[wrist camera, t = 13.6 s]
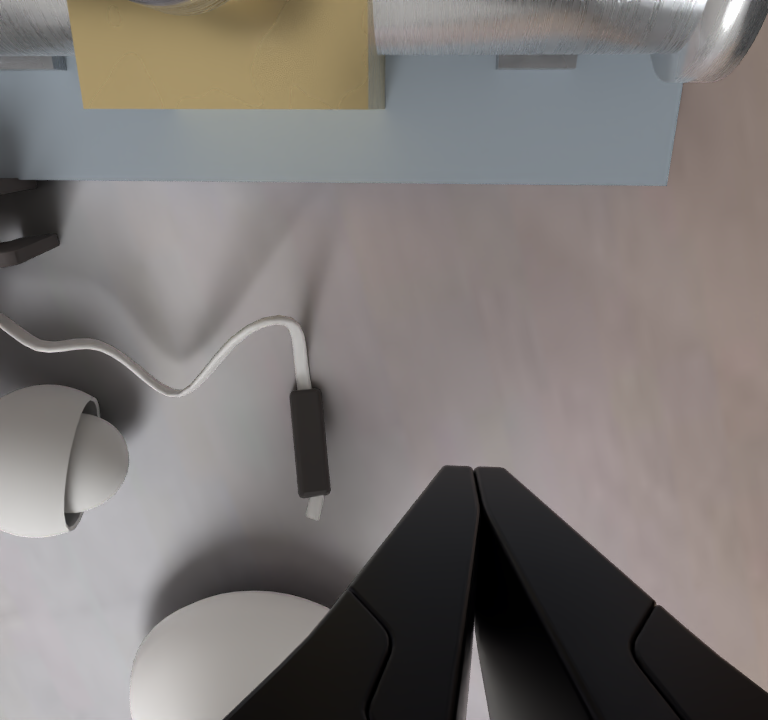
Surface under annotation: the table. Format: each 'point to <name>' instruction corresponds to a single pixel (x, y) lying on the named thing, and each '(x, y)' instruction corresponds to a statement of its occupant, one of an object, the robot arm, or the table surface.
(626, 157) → the slate board
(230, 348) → the clip-on lamp
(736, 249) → the table surface
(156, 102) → the pipe and valve
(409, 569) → the robot arm
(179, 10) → the lever
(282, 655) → the flower in vase
